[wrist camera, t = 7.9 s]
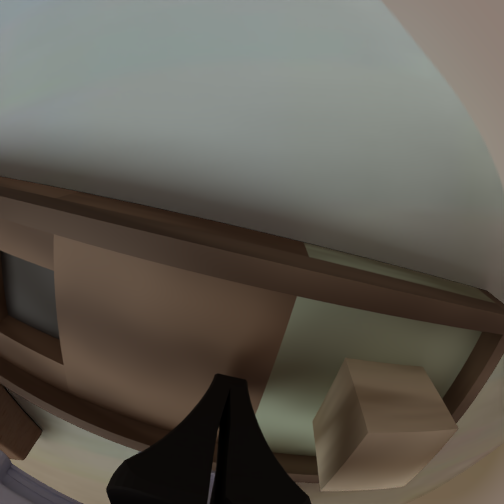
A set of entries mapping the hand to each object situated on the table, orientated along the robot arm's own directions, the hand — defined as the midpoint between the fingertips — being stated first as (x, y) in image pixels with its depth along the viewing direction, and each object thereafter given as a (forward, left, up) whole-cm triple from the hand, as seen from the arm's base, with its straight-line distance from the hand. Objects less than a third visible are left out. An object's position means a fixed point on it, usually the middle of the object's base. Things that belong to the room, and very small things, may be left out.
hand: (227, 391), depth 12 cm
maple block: (0, -7, -1) cm, 7 cm away
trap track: (0, +5, -3) cm, 6 cm away
